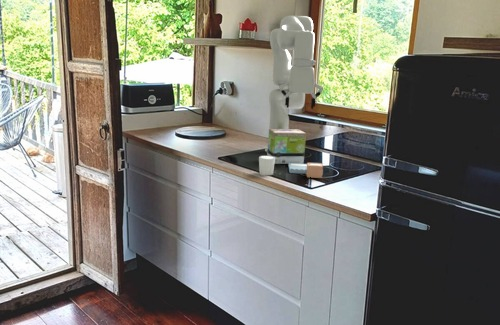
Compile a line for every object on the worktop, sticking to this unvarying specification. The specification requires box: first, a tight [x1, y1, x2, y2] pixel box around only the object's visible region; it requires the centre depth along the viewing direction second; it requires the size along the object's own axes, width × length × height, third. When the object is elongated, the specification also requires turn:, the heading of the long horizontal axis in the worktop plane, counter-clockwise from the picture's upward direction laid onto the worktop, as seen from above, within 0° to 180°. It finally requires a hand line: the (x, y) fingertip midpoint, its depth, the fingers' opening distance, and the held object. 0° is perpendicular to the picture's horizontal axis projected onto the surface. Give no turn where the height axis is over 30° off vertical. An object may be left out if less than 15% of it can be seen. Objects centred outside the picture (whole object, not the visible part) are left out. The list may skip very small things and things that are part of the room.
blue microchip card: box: [287, 163, 324, 176], centre depth 200 cm, size 11×14×2 cm
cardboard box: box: [305, 162, 324, 179], centre depth 191 cm, size 5×6×5 cm
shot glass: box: [258, 155, 275, 176], centre depth 192 cm, size 7×7×7 cm
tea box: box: [266, 128, 307, 165], centre depth 212 cm, size 15×10×15 cm, turn 105°
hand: (299, 107), depth 182 cm, fingers open, 9 cm apart
